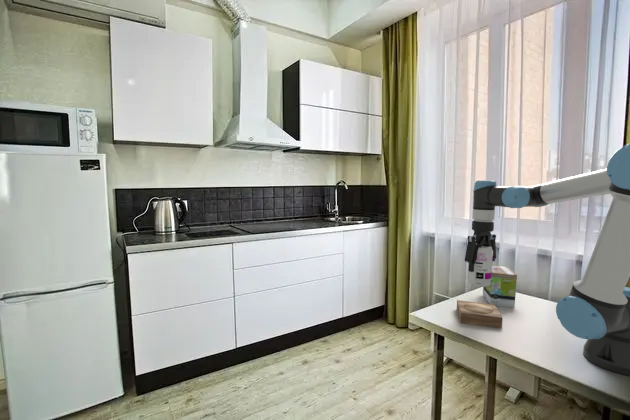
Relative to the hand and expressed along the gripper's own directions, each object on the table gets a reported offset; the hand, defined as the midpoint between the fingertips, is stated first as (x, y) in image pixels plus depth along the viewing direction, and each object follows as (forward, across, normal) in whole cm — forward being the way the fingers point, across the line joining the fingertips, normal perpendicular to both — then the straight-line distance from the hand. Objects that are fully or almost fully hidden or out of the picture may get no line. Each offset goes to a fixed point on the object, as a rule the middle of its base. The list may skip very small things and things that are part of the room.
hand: (479, 278), depth 128 cm
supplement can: (+2, 0, 0) cm, 2 cm away
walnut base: (+16, 0, 0) cm, 16 cm away
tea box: (+16, -25, -8) cm, 31 cm away
